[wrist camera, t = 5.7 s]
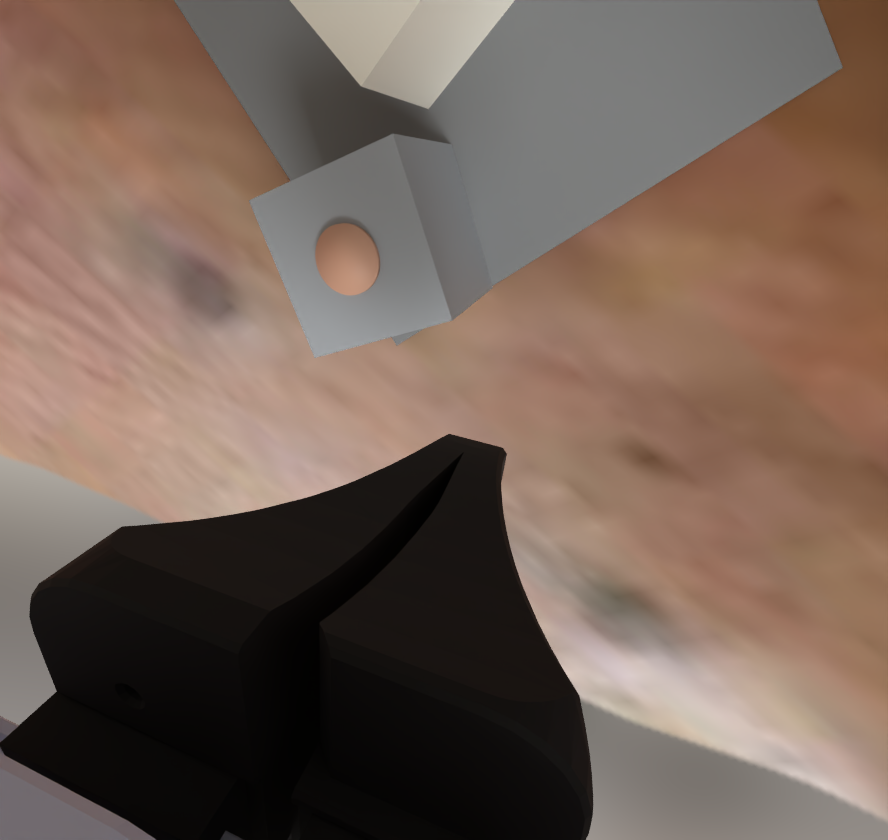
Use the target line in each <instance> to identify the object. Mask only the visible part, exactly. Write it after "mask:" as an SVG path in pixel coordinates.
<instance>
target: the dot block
mask: <svg viewBox="0 0 888 840" xmlns="http://www.w3.org/2000/svg"><path fill="white" fill-rule="evenodd" d="M249 202H250V204H251V207H252V209H253V212H254V214H255V216H256V219H257V221H258V223H259V226H260V228H261V231H262V233H263V235H264V238H265V240H266V243H267V245H268V247H269V250H270V252H271V254H272V257H273V259H274V262H275V264H276V266H277V269H278V271H279V274H280V276H281V278H282V281H283V283H284V286H285V288H286V290H287V293H288V295H289V297H290V300H291V302H292V305H293V307H294V309H295V312H296V314H297V317H298V319H299V321H300V324H301V326H302V328H303V331H304V333H305V336H306V338H307V340H308V343H309V345H310V348H311V350H312V352H313V355H314V357H315V358H316V357H320V356H324V355H327V354H331V353H335V352H338V351H342V350H346V349H349V348H353V347H357V346H360V345H364V344H368V343H371V342H375V341H379V340H382V339H386V338H390V337H393V336H397V335H401V334H404V333H408V332H412V331H415V330H419V329H423V328H427V327H430V326H434V325H438V324H441V323H445V322H449V321H452V320H454V319H455V318H456V317H457V316H458V315H460V314H461V313H462V312H463V311H465V310H466V309H467V308H468V307H470V306H471V305H472V304H473V303H474V302H476V301H477V300H478V299H479V298H481V297H482V296H483V295H484V294H486V293H487V292H488V291H489V290H490V289H492V288H493V287H492V284H491V280H490V277H489V273H488V270H487V266H486V263H485V259H484V256H483V252H482V249H481V245H480V242H479V238H478V235H477V231H476V228H475V224H474V221H473V217H472V214H471V210H470V207H469V203H468V200H467V196H466V193H465V189H464V186H463V182H462V179H461V175H460V172H459V168H458V165H457V161H456V158H455V154H454V151H453V147H452V144H447V143H442V142H436V141H431V140H425V139H420V138H414V137H409V136H403V135H398V134H391V135H389V136H387V137H385V138H382V139H380V140H378V141H376V142H374V143H372V144H369V145H367V146H365V147H363V148H361V149H359V150H357V151H354V152H352V153H350V154H348V155H346V156H344V157H342V158H339V159H337V160H335V161H333V162H331V163H329V164H326V165H324V166H322V167H320V168H318V169H316V170H314V171H311V172H309V173H307V174H305V175H303V176H301V177H299V178H296V179H294V180H292V181H290V182H288V183H286V184H283V185H281V186H279V187H277V188H275V189H273V190H271V191H268V192H266V193H264V194H262V195H260V196H258V197H256V198H253V199H251V200H249Z"/></svg>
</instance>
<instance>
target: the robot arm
mask: <svg viewBox="0 0 888 840" xmlns="http://www.w3.org/2000/svg"><path fill="white" fill-rule="evenodd" d="M506 455H507V454H506V452H505V451H504V449H503V448H501V447H498V446H494V445H490V444H486V443H482V442H478V441H474V440H471V439H467V438H463V437H459V436H455V435H451V434H448V435H446V436H444V437H442V438H440V439H438V440H437V441H435V442H433V443H431V444H429V445H428V446H426V447H424V448H422V449H420V450H418V451H417V452H415V453H413V454H411V455H409V456H407V457H405V458H403V459H401V460H399V461H397V462H396V463H394V464H392V465H389V466H387V467H385V468H383V469H381V470H378V471H376V472H374V473H372V474H369V475H367V476H365V477H363V478H361V479H358V480H356V481H354V482H351V483H349V484H346V485H343V486H341V487H338V488H335V489H332V490H329V491H326V492H323V493H320V494H317V495H314V496H311V497H307V498H304V499H300V500H296V501H292V502H288V503H284V504H280V505H276V506H272V507H268V508H264V509H260V510H255V511H249V512H244V513H239V514H233V515H227V516H221V517H214V518H208V519H200V520H193V521H183V522H172V523H162V524H151V525H140V526H125V527H121V528H119V529H118V530H116V531H115V532H113V533H112V534H111V535H109V536H108V537H106V538H105V539H103V540H102V541H100V542H99V543H97V544H96V545H94V546H93V547H92V548H90V549H89V550H87V551H86V552H84V553H83V554H81V555H80V556H79V557H77V558H76V559H74V560H73V561H71V562H70V563H68V564H67V565H66V566H64V567H63V568H61V569H60V570H58V571H57V572H55V573H54V574H53V575H51V576H50V577H48V578H47V579H46V580H44V581H42V582H41V583H39V584H38V586H37V588H36V589H35V591H34V592H33V594H32V596H31V603H30V620H31V624H32V628H33V632H34V635H35V637H36V639H37V642H38V645H39V647H40V650H41V652H42V655H43V657H44V660H45V663H46V665H47V668H48V670H49V673H50V675H51V678H52V680H53V683H54V685H55V688H56V690H57V692H56V693H55V694H54V695H53V696H51V698H49V699H48V700H47V701H46V702H45V703H44V704H42V705H41V706H40V707H39V708H38V709H37V710H36V711H35V712H34V713H32V714H31V715H30V716H29V717H28V718H27V719H26V720H25V721H24V722H22V724H20V725H17V724H15V723H13V722H11V721H9V720H7V719H5V718H3V717H1V716H0V840H586V837H587V836H588V834H589V830H590V825H591V821H592V815H593V787H592V772H591V762H590V753H589V747H588V741H587V734H586V728H585V723H584V718H583V713H582V708H581V702H580V697H579V694H578V693H577V691H576V690H575V688H574V686H573V685H572V683H571V682H570V680H569V678H568V677H567V675H566V673H565V672H564V670H563V668H562V667H561V665H560V663H559V661H558V660H557V658H556V656H555V654H554V653H553V651H552V649H551V647H550V645H549V643H548V641H547V639H546V637H545V635H544V633H543V631H542V629H541V627H540V626H539V624H538V621H537V619H536V617H535V614H534V612H533V610H532V607H531V605H530V603H529V600H528V598H527V596H526V593H525V591H524V589H523V586H522V584H521V581H520V578H519V575H518V572H517V569H516V566H515V563H514V559H513V556H512V552H511V549H510V545H509V540H508V536H507V531H506V526H505V520H504V514H503V506H502V494H501V480H502V475H503V470H504V465H505V460H506Z"/></svg>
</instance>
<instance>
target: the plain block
mask: <svg viewBox="0 0 888 840" xmlns="http://www.w3.org/2000/svg"><path fill="white" fill-rule="evenodd" d="M290 1H291V3H292V4H293V5H294V6H295V7H296V9H297V10H298V11H299V12H300V13H301V15H302V16H303V17H304V18H305V20H306V21H307V22H308V23H309V24H310V26H311V27H312V28H313V29H314V30H315V32H316V33H317V34H318V35H319V36H320V38H321V39H322V40H323V41H324V42H325V44H326V45H327V46H328V47H329V48H330V50H331V51H332V52H333V53H334V54H335V56H336V57H337V58H338V59H339V60H340V62H341V63H342V64H343V65H344V67H345V68H346V69H347V70H348V71H349V73H350V74H351V75H352V76H353V77H354V79H355V80H356V81H357V82H358V83H359V85H360V86H361V87H364V88H367V89H370V90H373V91H376V92H379V93H382V94H385V95H388V96H391V97H394V98H397V99H400V100H403V101H406V102H409V103H412V104H415V105H418V106H421V107H424V108H427V109H429V108H430V107H431V105H432V104H433V103H434V102H435V100H436V99H437V98H438V97H439V95H440V94H441V93H442V91H443V90H444V89H445V88H446V86H447V85H448V84H449V83H450V81H451V80H452V79H453V78H454V76H455V75H456V74H457V73H458V71H459V70H460V69H461V68H462V66H463V65H464V64H465V62H466V61H467V60H468V59H469V57H470V56H471V55H472V54H473V52H474V51H475V50H476V49H477V47H478V46H479V45H480V44H481V42H482V41H483V40H484V39H485V37H486V36H487V35H488V33H489V32H490V31H491V30H492V28H493V27H494V26H495V25H496V23H497V22H498V21H499V20H500V18H501V17H502V16H503V15H504V13H505V12H506V11H507V10H508V8H509V7H510V6H511V4H512V3H513V2H514V1H515V0H290Z"/></svg>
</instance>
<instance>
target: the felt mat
mask: <svg viewBox="0 0 888 840" xmlns="http://www.w3.org/2000/svg"><path fill="white" fill-rule="evenodd" d="M174 1H175V3H176V4H177V6H178V7H179V9H180V10H181V12H182V14H183V15H184V17H185V18H186V20H187V21H188V23H189V24H190V26H191V27H192V29H193V31H194V32H195V34H196V35H197V37H198V38H199V40H200V41H201V43H202V45H203V46H204V48H205V49H206V51H207V52H208V54H209V55H210V57H211V58H212V60H213V62H214V63H215V65H216V66H217V68H218V69H219V71H220V72H221V74H222V75H223V77H224V79H225V80H226V82H227V83H228V85H229V86H230V88H231V89H232V91H233V93H234V94H235V96H236V97H237V99H238V100H239V102H240V103H241V105H242V106H243V108H244V110H245V111H246V113H247V114H248V116H249V117H250V119H251V120H252V122H253V123H254V125H255V127H256V128H257V130H258V131H259V133H260V134H261V136H262V137H263V139H264V140H265V142H266V144H267V145H268V147H269V148H270V150H271V151H272V153H273V154H274V156H275V158H276V159H277V161H278V162H279V164H280V165H281V167H282V168H283V170H284V171H285V173H286V175H287V176H288V178H289V179H290V181H292V180H294V179H296V178H299V177H301V176H303V175H305V174H307V173H309V172H311V171H314V170H316V169H318V168H320V167H322V166H324V165H326V164H329V163H331V162H333V161H335V160H337V159H339V158H342V157H344V156H346V155H348V154H350V153H352V152H354V151H357V150H359V149H361V148H363V147H365V146H367V145H369V144H372V143H374V142H376V141H378V140H380V139H382V138H385V137H387V136H389V135H391V134H398V135H403V136H409V137H414V138H420V139H425V140H431V141H436V142H442V143H447V144H452V147H453V151H454V154H455V158H456V161H457V165H458V168H459V172H460V175H461V179H462V182H463V186H464V189H465V193H466V196H467V200H468V203H469V207H470V210H471V214H472V217H473V221H474V224H475V228H476V231H477V235H478V238H479V242H480V245H481V249H482V252H483V256H484V259H485V263H486V266H487V270H488V273H489V277H490V280H491V284H492V286H493V285H495V284H496V283H498V282H499V281H501V280H503V279H504V278H506V277H508V276H509V275H511V274H512V273H514V272H516V271H517V270H519V269H520V268H522V267H524V266H525V265H527V264H528V263H530V262H532V261H533V260H535V259H536V258H538V257H540V256H541V255H543V254H544V253H546V252H548V251H549V250H551V249H552V248H554V247H556V246H557V245H559V244H560V243H562V242H564V241H565V240H567V239H569V238H570V237H572V236H573V235H575V234H577V233H578V232H580V231H581V230H583V229H585V228H586V227H588V226H589V225H591V224H593V223H594V222H596V221H597V220H599V219H601V218H602V217H604V216H605V215H607V214H609V213H610V212H612V211H613V210H615V209H617V208H618V207H620V206H621V205H623V204H625V203H626V202H628V201H630V200H631V199H633V198H634V197H636V196H638V195H639V194H641V193H642V192H644V191H646V190H647V189H649V188H650V187H652V186H654V185H655V184H657V183H658V182H660V181H662V180H663V179H665V178H666V177H668V176H670V175H671V174H673V173H674V172H676V171H678V170H679V169H681V168H682V167H684V166H686V165H687V164H689V163H691V162H692V161H694V160H695V159H697V158H699V157H700V156H702V155H703V154H705V153H707V152H708V151H710V150H711V149H713V148H715V147H716V146H718V145H719V144H721V143H723V142H724V141H726V140H727V139H729V138H731V137H732V136H734V135H735V134H737V133H739V132H740V131H742V130H743V129H745V128H747V127H748V126H750V125H752V124H753V123H755V122H756V121H758V120H760V119H761V118H763V117H764V116H766V115H768V114H769V113H771V112H772V111H774V110H776V109H777V108H779V107H780V106H782V105H784V104H785V103H787V102H788V101H790V100H792V99H793V98H795V97H796V96H798V95H800V94H801V93H803V92H804V91H806V90H808V89H809V88H811V87H813V86H814V85H816V84H817V83H819V82H821V81H822V80H824V79H825V78H827V77H829V76H830V75H832V74H833V73H835V72H837V71H838V70H840V69H841V68H843V67H842V64H841V61H840V59H839V56H838V54H837V51H836V49H835V46H834V43H833V41H832V38H831V36H830V33H829V30H828V28H827V25H826V23H825V20H824V17H823V15H822V12H821V10H820V7H819V5H818V2H817V0H515V1H514V2H513V3H512V4H511V6H510V7H509V8H508V10H507V11H506V12H505V13H504V15H503V16H502V17H501V18H500V20H499V21H498V22H497V23H496V25H495V26H494V27H493V28H492V30H491V31H490V32H489V33H488V35H487V36H486V37H485V39H484V40H483V41H482V42H481V44H480V45H479V46H478V47H477V49H476V50H475V51H474V52H473V54H472V55H471V56H470V57H469V59H468V60H467V61H466V62H465V64H464V65H463V66H462V68H461V69H460V70H459V71H458V73H457V74H456V75H455V76H454V78H453V79H452V80H451V81H450V83H449V84H448V85H447V86H446V88H445V89H444V90H443V91H442V93H441V94H440V95H439V97H438V98H437V99H436V100H435V102H434V103H433V104H432V105H431V107H430V108H429V109H427V108H424V107H421V106H418V105H415V104H412V103H409V102H406V101H403V100H400V99H397V98H394V97H391V96H388V95H385V94H382V93H379V92H376V91H373V90H370V89H367V88H364V87H361V86H360V85H359V83H358V82H357V81H356V80H355V79H354V77H353V76H352V75H351V74H350V73H349V71H348V70H347V69H346V68H345V67H344V65H343V64H342V63H341V62H340V60H339V59H338V58H337V57H336V56H335V54H334V53H333V52H332V51H331V50H330V48H329V47H328V46H327V45H326V44H325V42H324V41H323V40H322V39H321V38H320V36H319V35H318V34H317V33H316V32H315V30H314V29H313V28H312V27H311V26H310V24H309V23H308V22H307V21H306V20H305V18H304V17H303V16H302V15H301V13H300V12H299V11H298V10H297V9H296V7H295V6H294V5H293V4H292V3H291V1H290V0H174ZM423 329H424V328H423ZM421 330H422V329H419V330H415V331H412V332H408V333H404V334H401V335H397V336H393V337H392V339H393V340H394V342H395V343H396V345H398V344H400V343H402V342H403V341H405V340H406V339H408V338H410V337H411V336H413V335H414V334H416V333H418V332H419V331H421Z"/></svg>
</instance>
